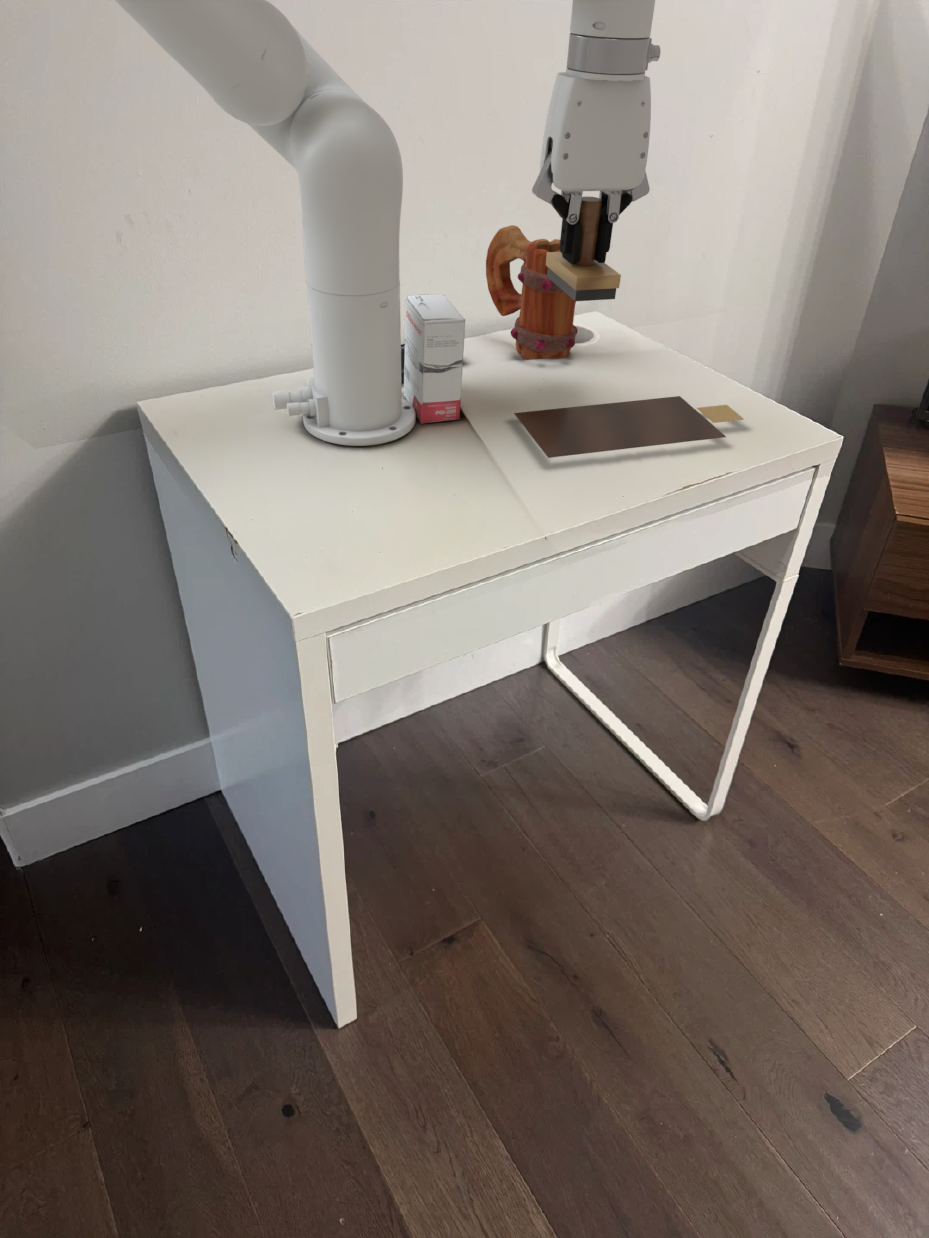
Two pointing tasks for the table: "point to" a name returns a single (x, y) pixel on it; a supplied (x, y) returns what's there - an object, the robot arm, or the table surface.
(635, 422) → the board
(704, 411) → the tan rectangular block
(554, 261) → the wooden rubber stamp
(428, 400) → the ink box
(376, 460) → the table surface
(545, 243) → the mug
